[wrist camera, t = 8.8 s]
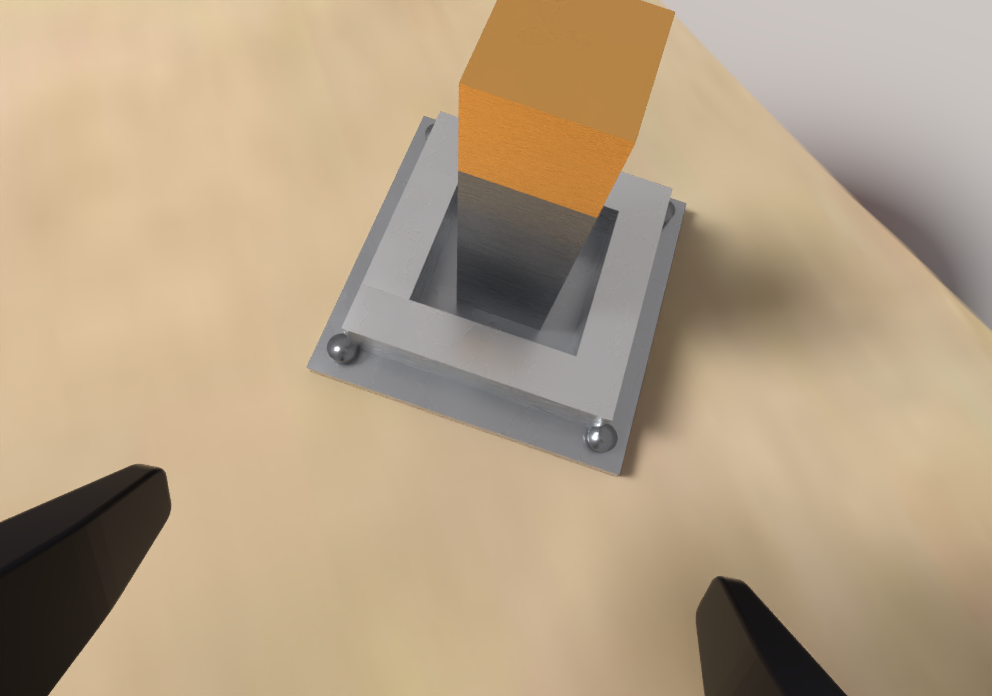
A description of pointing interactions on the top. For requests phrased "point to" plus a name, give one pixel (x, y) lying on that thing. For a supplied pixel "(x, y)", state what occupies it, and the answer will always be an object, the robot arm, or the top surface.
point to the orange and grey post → (546, 141)
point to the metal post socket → (495, 340)
